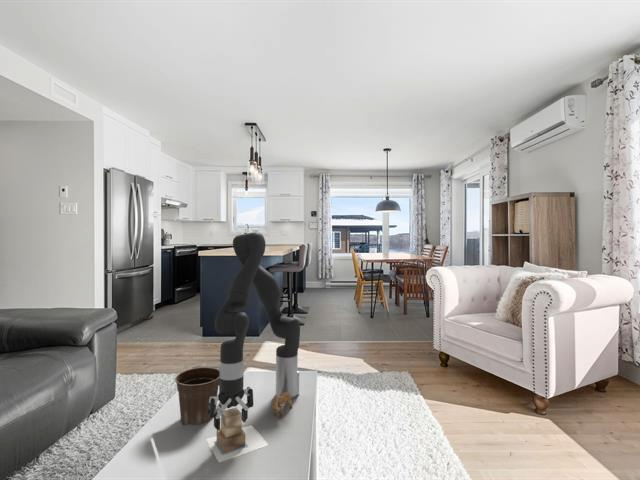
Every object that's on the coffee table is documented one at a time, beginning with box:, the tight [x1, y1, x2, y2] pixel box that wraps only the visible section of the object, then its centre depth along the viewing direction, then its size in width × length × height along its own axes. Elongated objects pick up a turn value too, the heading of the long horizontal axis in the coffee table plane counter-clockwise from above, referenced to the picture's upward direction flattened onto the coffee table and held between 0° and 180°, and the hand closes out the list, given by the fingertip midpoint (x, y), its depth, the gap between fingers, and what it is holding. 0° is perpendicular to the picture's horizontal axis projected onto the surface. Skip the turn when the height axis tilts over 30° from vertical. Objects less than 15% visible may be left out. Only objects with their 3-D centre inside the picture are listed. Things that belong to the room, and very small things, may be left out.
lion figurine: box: [271, 392, 293, 419], centre depth 132 cm, size 15×5×9 cm, turn 168°
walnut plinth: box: [216, 428, 245, 453], centre depth 110 cm, size 7×7×4 cm
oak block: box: [220, 407, 243, 437], centre depth 110 cm, size 5×5×6 cm
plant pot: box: [174, 366, 219, 426], centre depth 127 cm, size 16×16×16 cm
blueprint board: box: [205, 425, 270, 464], centre depth 111 cm, size 16×14×1 cm
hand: (231, 425), depth 110 cm, fingers open, 8 cm apart
